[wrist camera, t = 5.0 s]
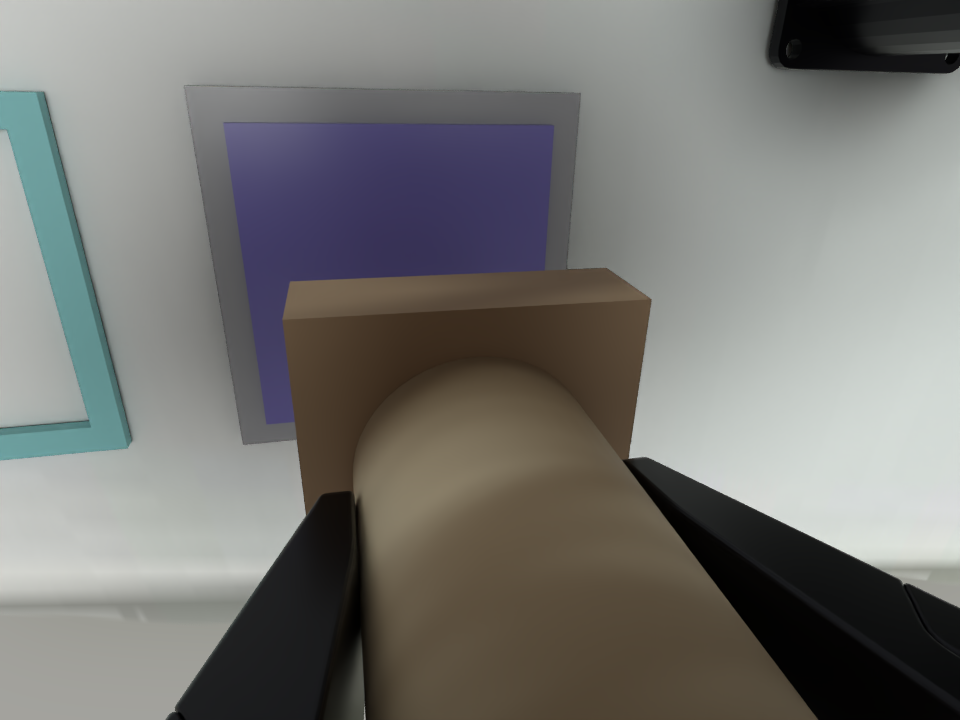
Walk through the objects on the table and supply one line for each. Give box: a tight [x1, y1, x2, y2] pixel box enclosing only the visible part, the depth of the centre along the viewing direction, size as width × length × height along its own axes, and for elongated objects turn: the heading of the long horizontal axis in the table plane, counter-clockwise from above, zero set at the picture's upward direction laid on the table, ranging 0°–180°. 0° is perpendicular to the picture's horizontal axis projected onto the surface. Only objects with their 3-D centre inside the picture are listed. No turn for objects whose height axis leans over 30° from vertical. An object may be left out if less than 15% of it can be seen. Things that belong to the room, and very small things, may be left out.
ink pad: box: [184, 85, 581, 445], centre depth 18 cm, size 10×10×1 cm
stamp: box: [282, 268, 818, 720], centre depth 7 cm, size 5×5×7 cm
